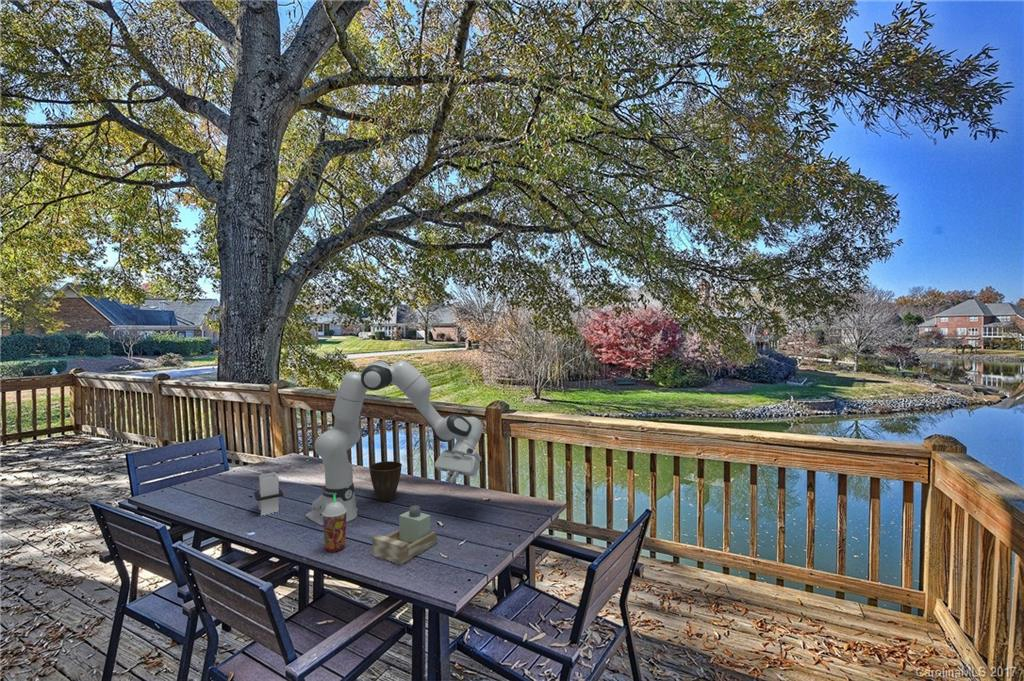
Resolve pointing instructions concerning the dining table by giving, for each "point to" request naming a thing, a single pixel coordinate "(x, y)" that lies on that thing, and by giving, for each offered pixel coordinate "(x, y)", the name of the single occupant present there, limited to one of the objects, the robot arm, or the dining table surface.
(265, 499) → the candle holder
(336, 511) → the smoothie
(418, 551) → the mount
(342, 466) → the robot arm
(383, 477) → the plant pot
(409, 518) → the slider
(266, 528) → the dining table surface
